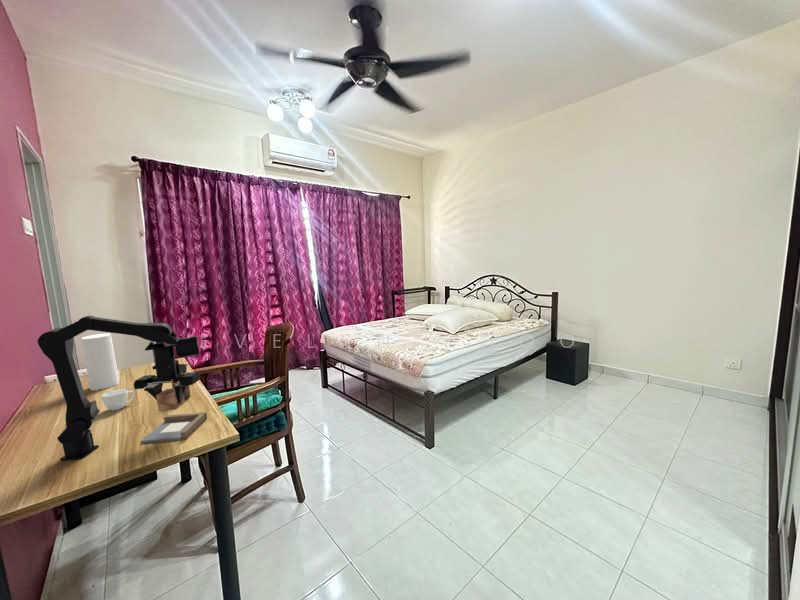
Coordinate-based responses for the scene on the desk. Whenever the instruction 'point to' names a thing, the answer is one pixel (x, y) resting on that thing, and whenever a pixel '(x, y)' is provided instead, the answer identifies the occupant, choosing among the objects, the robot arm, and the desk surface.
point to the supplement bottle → (187, 390)
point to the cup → (116, 399)
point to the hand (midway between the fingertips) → (171, 403)
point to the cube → (168, 400)
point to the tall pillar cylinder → (100, 361)
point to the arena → (176, 427)
